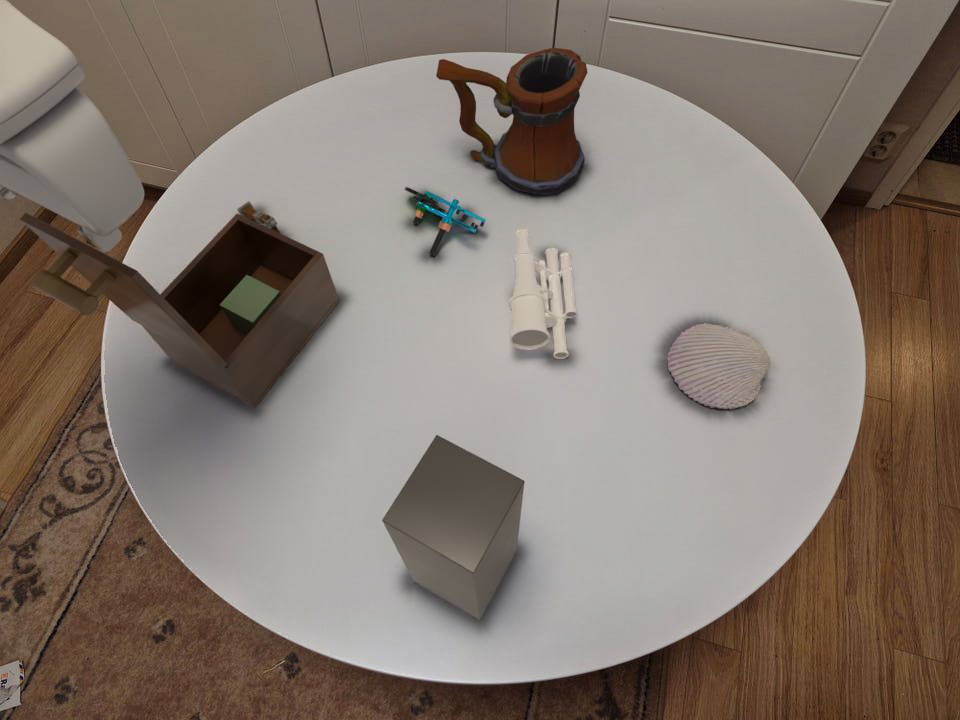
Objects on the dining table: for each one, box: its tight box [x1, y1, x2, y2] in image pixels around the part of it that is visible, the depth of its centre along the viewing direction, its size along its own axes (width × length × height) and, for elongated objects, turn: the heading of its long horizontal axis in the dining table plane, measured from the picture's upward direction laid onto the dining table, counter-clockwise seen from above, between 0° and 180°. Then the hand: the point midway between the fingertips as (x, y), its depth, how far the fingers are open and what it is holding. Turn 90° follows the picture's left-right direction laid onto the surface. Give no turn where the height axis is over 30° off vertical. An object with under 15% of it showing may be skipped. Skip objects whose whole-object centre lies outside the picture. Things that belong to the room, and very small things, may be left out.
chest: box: [142, 213, 341, 409], centre depth 72 cm, size 15×11×9 cm
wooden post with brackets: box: [236, 200, 282, 234], centre depth 81 cm, size 2×8×4 cm, turn 46°
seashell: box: [666, 322, 772, 410], centre depth 71 cm, size 10×6×10 cm
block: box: [220, 275, 281, 335], centre depth 74 cm, size 4×4×4 cm
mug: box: [435, 47, 589, 195], centre depth 81 cm, size 18×12×15 cm, turn 83°
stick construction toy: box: [403, 186, 487, 257], centre depth 81 cm, size 12×7×8 cm
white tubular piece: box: [508, 228, 578, 360], centre depth 74 cm, size 8×14×5 cm
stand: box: [381, 434, 526, 621], centre depth 54 cm, size 7×7×20 cm
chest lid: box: [19, 212, 227, 369], centre depth 57 cm, size 16×11×4 cm
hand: (57, 216), depth 47 cm, fingers open, 8 cm apart
